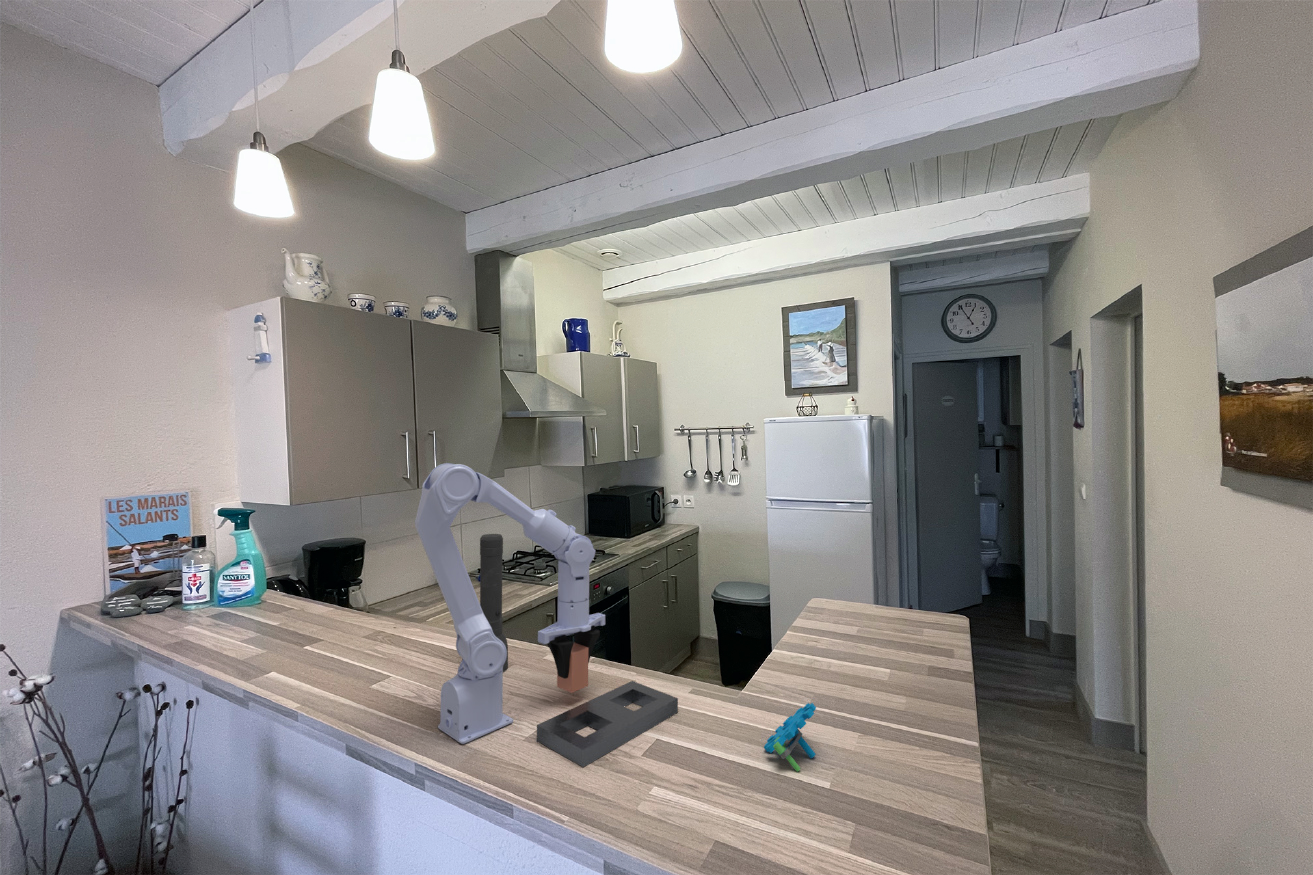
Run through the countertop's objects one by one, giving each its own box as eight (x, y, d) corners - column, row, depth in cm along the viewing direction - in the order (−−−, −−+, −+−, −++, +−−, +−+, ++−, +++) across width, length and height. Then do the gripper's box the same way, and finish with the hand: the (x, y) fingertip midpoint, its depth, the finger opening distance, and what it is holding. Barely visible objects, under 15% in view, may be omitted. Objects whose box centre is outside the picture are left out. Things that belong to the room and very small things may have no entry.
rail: (583, 767, 80) (583, 749, 80) (536, 740, 87) (536, 724, 87) (677, 712, 96) (677, 698, 96) (632, 694, 103) (632, 680, 103)
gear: (777, 719, 91) (817, 689, 86) (803, 751, 89) (846, 722, 84) (748, 758, 82) (790, 728, 77) (776, 795, 80) (821, 766, 75)
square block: (571, 692, 98) (571, 653, 98) (557, 686, 101) (557, 648, 101) (588, 685, 101) (588, 647, 101) (573, 679, 104) (574, 642, 104)
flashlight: (475, 678, 110) (510, 672, 113) (476, 538, 111) (511, 536, 114) (470, 665, 117) (504, 660, 120) (472, 533, 117) (505, 531, 120)
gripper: (556, 611, 93) (555, 691, 93) (616, 594, 104) (616, 666, 104) (530, 603, 98) (530, 680, 97) (591, 588, 109) (590, 657, 108)
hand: (572, 672), depth 101 cm, fingers closed on square block, 4 cm apart
